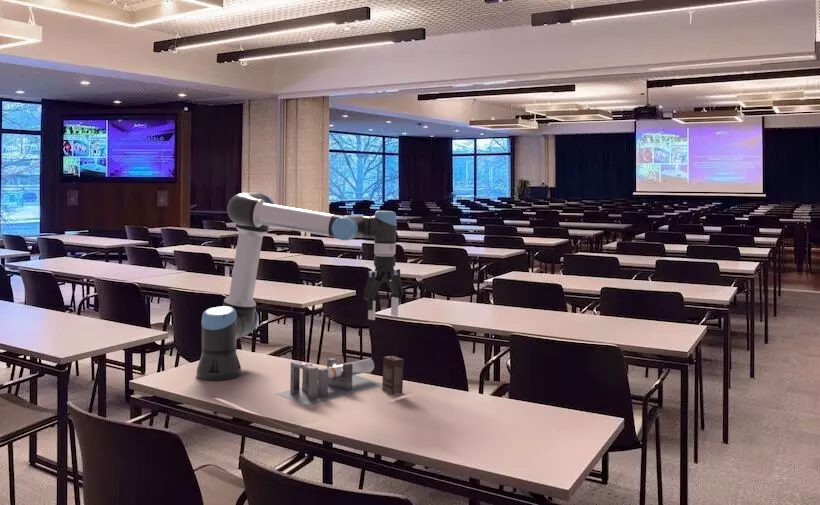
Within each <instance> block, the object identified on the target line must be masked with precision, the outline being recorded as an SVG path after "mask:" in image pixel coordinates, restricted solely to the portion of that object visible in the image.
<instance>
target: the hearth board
mask: <svg viewBox="0 0 820 505" xmlns="http://www.w3.org/2000/svg"><path fill="white" fill-rule="evenodd" d="M378 387H382V382H380V381H376V380H373V379H369V378H366V377H363V376H359V375H358V374H357V375H353V376H352V390H349V391H345V390H342V389H339V388H336V387H332V386H329V385H328V396H327V397H323V398H321V397H318V396H317V400H313V401H310V400H308V393H307V392H304V391H302V386H301V387H300V388H299V393H297V394H291V393H290V390H286V391H281V392H277V393H276V395H277V396H280V397H283V398H286V399H287V400H288V399H289V400H290V401H293V402H296V403H299V404H302V405H304V406H307V407H308V406H311V405H316V404H319V403H323V402H327V401H330V400H333V399H338V398H341V397H345V396H349V395H352V394H355V393H360V392H364V391H367V390H370V389H374V388H378Z"/></svg>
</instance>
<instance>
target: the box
mask: <svg viewBox="0 0 820 505" xmlns="http://www.w3.org/2000/svg"><path fill="white" fill-rule="evenodd" d="M382 365H383V366H382V382H381V383H382V386H381V391H383V392H385V393H388V394H389V395H398V394H399V395H400V394H403V387H404V359H403V358H400V357H397V356H394V355H388V356H383V364H382Z"/></svg>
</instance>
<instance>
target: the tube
mask: <svg viewBox="0 0 820 505" xmlns="http://www.w3.org/2000/svg"><path fill="white" fill-rule="evenodd" d="M350 363H352V376H353V375H357V376H358V375H361V374H366V373H368V372H369V373H370V372H372V371H373V370H374V368H375V362H374V361H373V359H372V358H366V359H365V358H364V359H361V360H357V361H352V362H350ZM325 368H326V369H328V382H329V381H334V380H337V379H341V378H343V364H337V366H333V367H325Z"/></svg>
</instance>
